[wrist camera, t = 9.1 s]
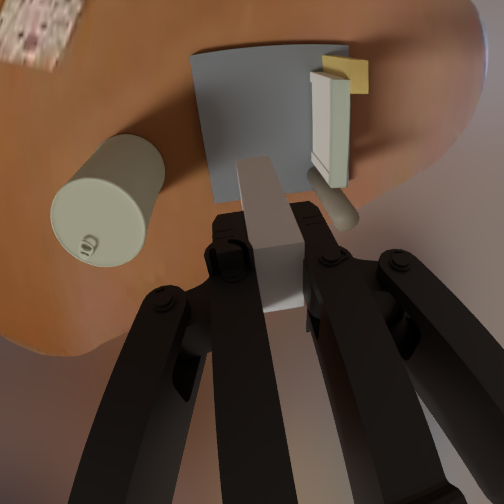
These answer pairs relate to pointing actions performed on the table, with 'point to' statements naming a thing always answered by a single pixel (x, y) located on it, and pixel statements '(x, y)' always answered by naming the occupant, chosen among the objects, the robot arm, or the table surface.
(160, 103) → the table surface
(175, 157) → the table surface
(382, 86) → the table surface
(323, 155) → the white framed panel
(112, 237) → the can
